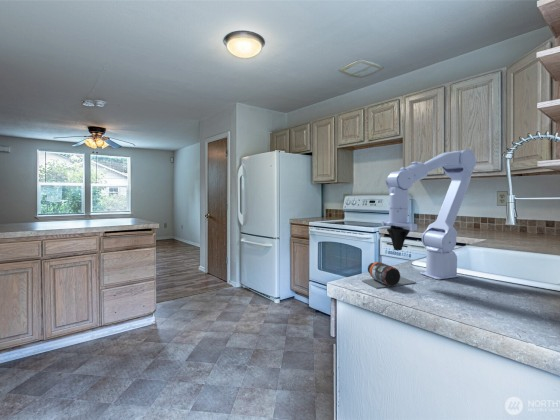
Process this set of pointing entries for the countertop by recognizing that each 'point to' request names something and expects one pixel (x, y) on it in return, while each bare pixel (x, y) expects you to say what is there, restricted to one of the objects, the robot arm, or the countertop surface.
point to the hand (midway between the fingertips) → (397, 249)
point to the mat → (379, 284)
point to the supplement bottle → (384, 273)
